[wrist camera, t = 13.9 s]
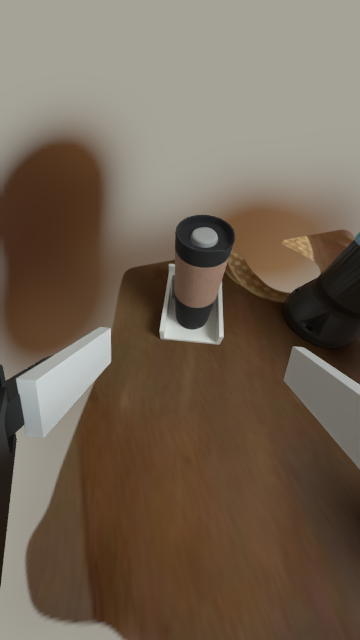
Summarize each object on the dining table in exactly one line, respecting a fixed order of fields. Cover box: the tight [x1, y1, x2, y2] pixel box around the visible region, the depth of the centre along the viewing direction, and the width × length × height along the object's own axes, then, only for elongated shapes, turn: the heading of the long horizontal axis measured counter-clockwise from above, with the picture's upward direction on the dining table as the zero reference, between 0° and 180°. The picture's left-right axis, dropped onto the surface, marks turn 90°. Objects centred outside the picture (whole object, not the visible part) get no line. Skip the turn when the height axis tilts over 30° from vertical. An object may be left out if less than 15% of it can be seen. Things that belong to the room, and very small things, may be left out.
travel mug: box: [175, 215, 235, 330], centre depth 31 cm, size 8×8×20 cm
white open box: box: [159, 264, 224, 344], centre depth 39 cm, size 12×16×6 cm
